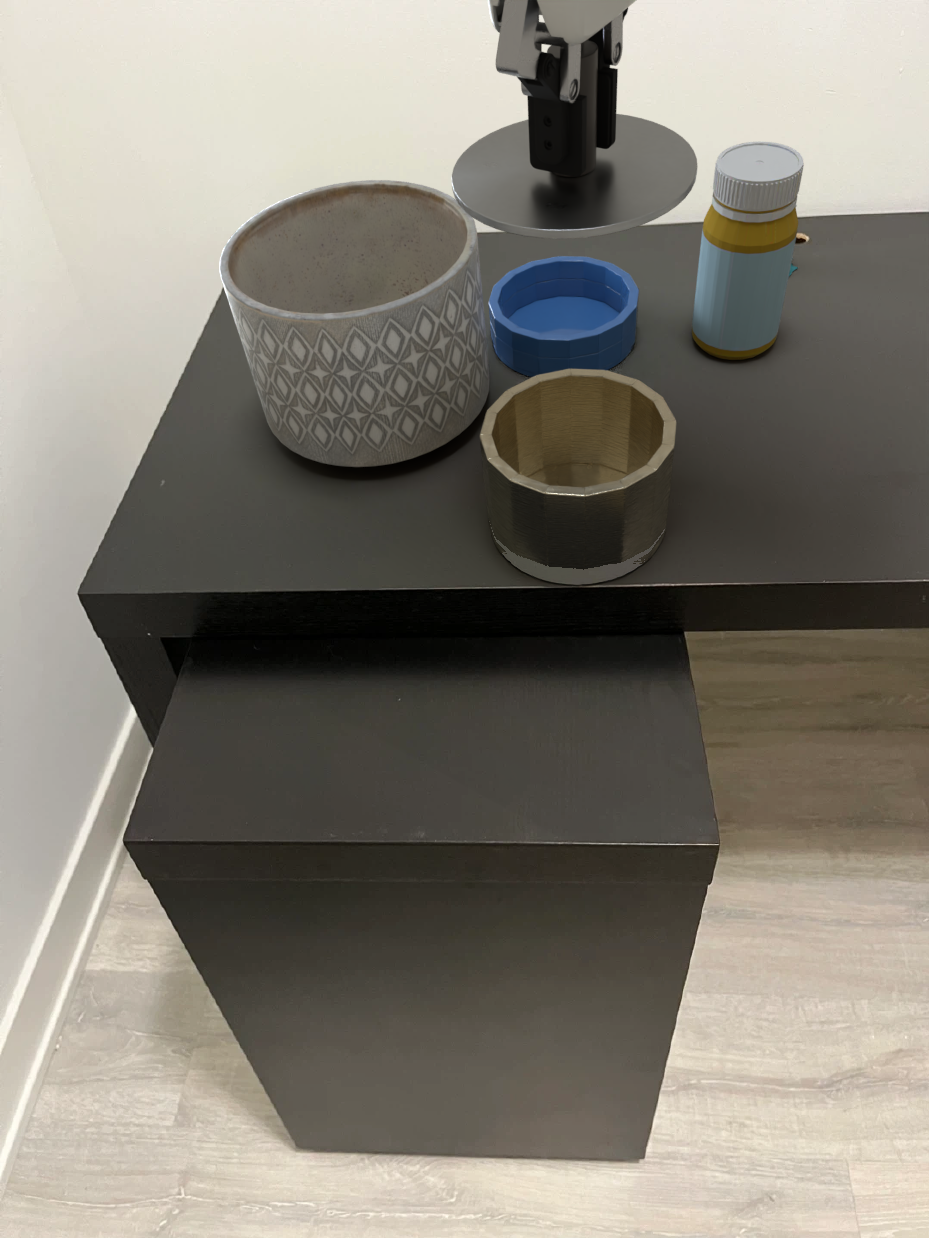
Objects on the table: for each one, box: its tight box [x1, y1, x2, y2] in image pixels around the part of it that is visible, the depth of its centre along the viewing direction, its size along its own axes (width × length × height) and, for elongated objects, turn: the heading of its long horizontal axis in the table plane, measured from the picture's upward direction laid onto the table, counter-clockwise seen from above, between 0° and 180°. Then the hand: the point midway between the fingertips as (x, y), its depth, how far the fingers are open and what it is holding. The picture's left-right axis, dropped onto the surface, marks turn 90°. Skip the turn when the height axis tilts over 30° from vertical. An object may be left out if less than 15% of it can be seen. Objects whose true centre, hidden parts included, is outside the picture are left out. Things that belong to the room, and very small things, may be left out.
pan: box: [487, 255, 640, 378], centre depth 81 cm, size 12×12×4 cm
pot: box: [479, 369, 678, 570], centre depth 65 cm, size 13×13×8 cm
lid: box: [451, 40, 698, 240], centre depth 51 cm, size 14×14×7 cm
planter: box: [218, 179, 491, 468], centre depth 73 cm, size 19×19×14 cm
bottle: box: [691, 141, 805, 361], centre depth 74 cm, size 7×7×15 cm
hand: (572, 153), depth 52 cm, fingers closed on lid, 2 cm apart
